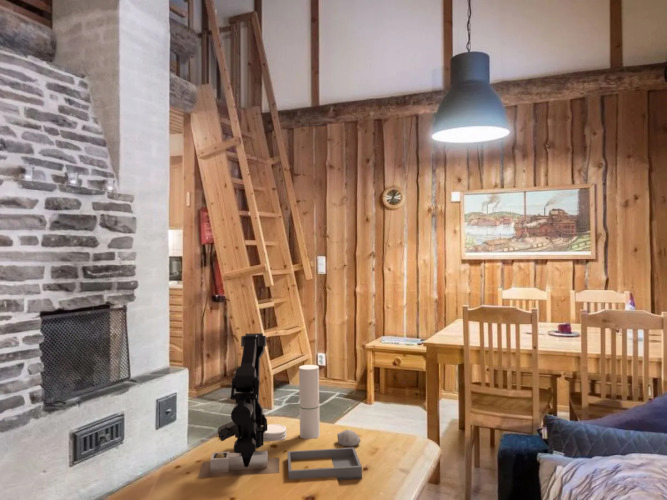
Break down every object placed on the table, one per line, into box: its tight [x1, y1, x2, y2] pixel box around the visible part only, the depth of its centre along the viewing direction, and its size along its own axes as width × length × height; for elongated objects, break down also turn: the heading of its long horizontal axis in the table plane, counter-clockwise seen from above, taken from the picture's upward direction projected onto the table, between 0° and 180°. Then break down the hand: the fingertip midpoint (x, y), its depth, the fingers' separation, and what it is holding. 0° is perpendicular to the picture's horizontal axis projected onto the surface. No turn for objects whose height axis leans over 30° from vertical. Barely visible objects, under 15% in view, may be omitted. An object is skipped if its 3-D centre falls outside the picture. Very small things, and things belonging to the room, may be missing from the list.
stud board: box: [197, 453, 280, 479], centre depth 158 cm, size 24×11×6 cm, turn 97°
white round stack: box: [263, 423, 288, 442], centre depth 186 cm, size 10×10×4 cm
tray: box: [286, 447, 363, 481], centre depth 158 cm, size 22×15×4 cm
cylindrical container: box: [298, 364, 321, 440], centre depth 187 cm, size 7×7×25 cm
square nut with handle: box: [209, 450, 269, 473], centre depth 158 cm, size 17×5×4 cm, turn 97°
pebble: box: [337, 429, 361, 448], centre depth 179 cm, size 9×8×5 cm
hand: (246, 464), depth 159 cm, fingers closed on square nut with handle, 3 cm apart
